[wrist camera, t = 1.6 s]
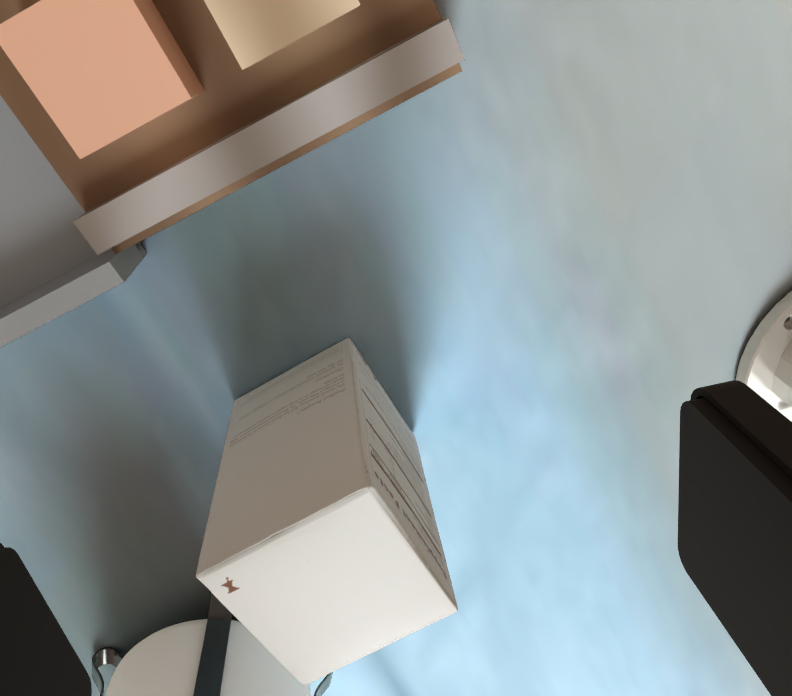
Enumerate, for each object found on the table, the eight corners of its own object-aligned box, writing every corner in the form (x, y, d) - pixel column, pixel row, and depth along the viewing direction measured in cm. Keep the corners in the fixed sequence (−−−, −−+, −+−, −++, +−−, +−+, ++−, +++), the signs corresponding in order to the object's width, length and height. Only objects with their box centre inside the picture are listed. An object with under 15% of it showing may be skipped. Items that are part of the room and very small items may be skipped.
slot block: (313, -262, 23) (311, -325, 19) (448, 67, 28) (469, 72, 24) (-58, -39, 25) (-131, -53, 21) (134, 234, 30) (105, 265, 26)
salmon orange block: (133, -31, 23) (109, -40, 20) (205, 91, 25) (191, 98, 22) (27, 30, 24) (-11, 30, 21) (105, 146, 25) (79, 159, 23)
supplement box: (305, 493, 37) (298, 693, 26) (230, 397, 34) (186, 577, 23) (418, 435, 36) (463, 616, 25) (353, 331, 33) (370, 484, 22)
